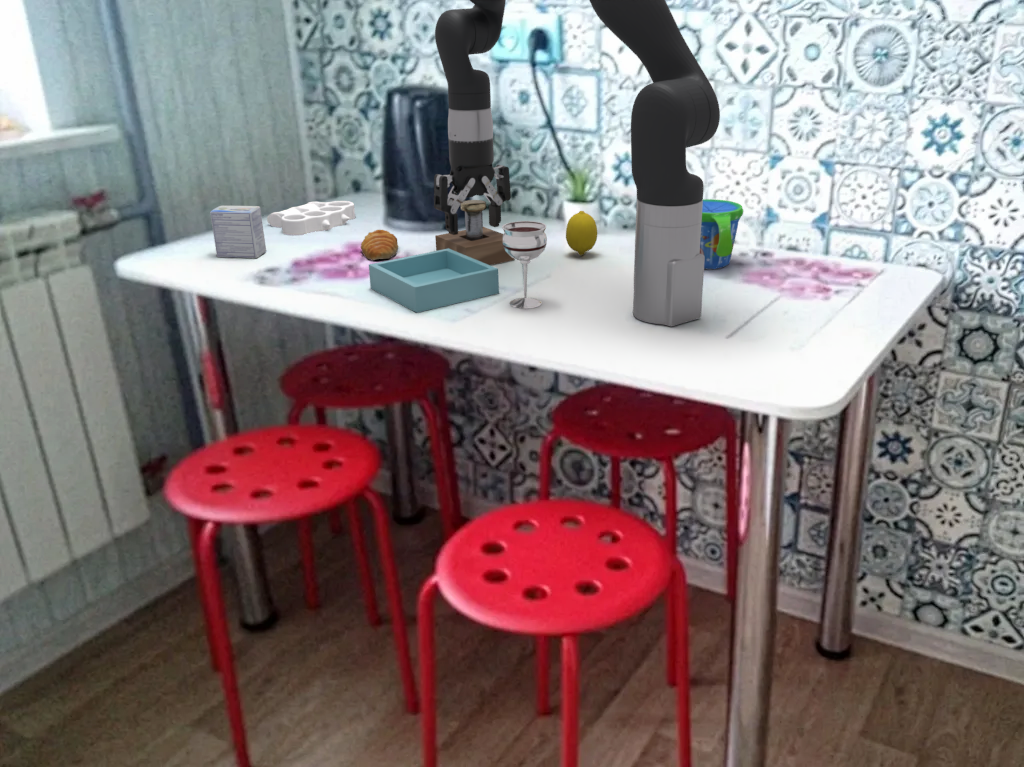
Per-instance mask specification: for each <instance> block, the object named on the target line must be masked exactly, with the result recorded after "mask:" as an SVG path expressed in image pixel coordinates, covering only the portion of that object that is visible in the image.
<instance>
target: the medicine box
mask: <svg viewBox="0 0 1024 767" xmlns="http://www.w3.org/2000/svg"><path fill="white" fill-rule="evenodd" d="M261 209H262V208H261V206H257V205H219V206H217V207H215V208H213V209H212V210H211V211H210V212H209V214H210V220H211V226H212V233H213V239H214V246H215V252H216V253H215V254H216V257H217V258H239V259H243V258H245V259H258V258H259V257H261V256H262V255H263V254H265V253H266V252H267V246H266V240H265V239H266V238H265V232H264V223H263V218H262V211H261Z"/></svg>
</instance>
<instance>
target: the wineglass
mask: <svg viewBox="0 0 1024 767" xmlns="http://www.w3.org/2000/svg"><path fill="white" fill-rule="evenodd" d="M501 228H502V230H503V232H504V233H502V234H503V238H502V245H503V248H504V250H505V251H506V252H507V253H508V254H509V255H510V256H511V257H512V258H514V259H515V260H517V261H519V263H520V264H521V265H522V282H523V283H522V284H523V297H519V298H515V299H514V298H513V299H512V300H510V301H509V303H508V304H509V305H510V306H511V307H513V308H515V309H533V308H537V307H540V306H541V305H542V300H540V299H537V298H533V297H528V296H527V294H528V293H527V292H528V288H527V287H528V286H527V285H528V264H530V262H531V261H533V260H534V259H537V258H539V256H540V255H541V254H542V253H543V252H544V251H545V250H546V247H547V242H548V238H547V234H546V233H545V232H546V231H545V230H546V229H547V225H546V223H543V222H539V221H533V220H518V221H511V222H507V223H504V224H503V225H502V226H501Z"/></svg>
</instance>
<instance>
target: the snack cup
mask: <svg viewBox="0 0 1024 767" xmlns="http://www.w3.org/2000/svg"><path fill="white" fill-rule="evenodd" d="M743 215H744V209H743V206H742V205H741V204H740V203H738V202H734V201H730V200H726V199H725V200H724V199H712V198H710V199H709V198H708V199H707V198H706V199H705V198H703V206H702V220H701V238H700V254H703V255H704V257H705V261H704V270H716V269H721V268H722V269H723V268H724V267H726V266H729V265H730V262H731V258H732V254H733V250H734V246H735V241H736V236H737V230H738V226H739V222H740V219H741V217H742V216H743Z"/></svg>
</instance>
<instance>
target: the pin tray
mask: <svg viewBox="0 0 1024 767" xmlns="http://www.w3.org/2000/svg"><path fill="white" fill-rule="evenodd" d="M368 271H369V285H370V289H371V290H373V291H375V292H376V293H379V294H380V295H382V296H384V297H385V298H388V299H390V300H392V301H393V302H396V303H398V304H399V305H401V306H402V307H405V308H407V309H409V310H411V311H413V312H415V313H416V314H417V313H421V312H425V311H429V310H433V309H438V308H439V309H440V308H443V307H446V306H450V305H451V306H452V305H454V304H460V303H463V302H467V301H468V302H469V301H471V300H477V299H481V298H484V297H488V296H493V295H496V294H499V293H500V289H499V288H500V287H499V286H500V282H499V275H500V274H499V268H497V267H495V266H494V265H488V264H485V263H483V262H480V261H478V260H475V259H473V258H471V257H468V256H466V255H463V254H461V253H458V252H456V251H454V250H451V249H449V248H448V249H443V250H438V251H436V250H433V251H429V252H425V253H423V252H422V253H420V254H419V253H418V254H414V255H413V254H412V255H410V256H405V257H403V256H402V257H399V258H395V259H388V260H384V261H379V262H376V263H370V264H368Z"/></svg>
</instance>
